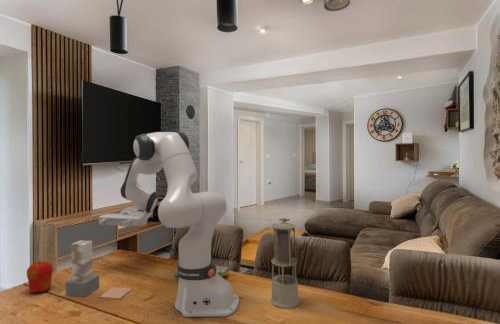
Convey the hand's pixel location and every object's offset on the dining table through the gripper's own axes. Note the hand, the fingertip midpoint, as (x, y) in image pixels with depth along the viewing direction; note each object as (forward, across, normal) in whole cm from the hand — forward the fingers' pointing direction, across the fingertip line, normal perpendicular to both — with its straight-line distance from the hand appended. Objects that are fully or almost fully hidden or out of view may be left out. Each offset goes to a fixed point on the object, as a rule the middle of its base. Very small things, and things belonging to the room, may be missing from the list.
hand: (111, 224), depth 134 cm
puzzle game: (-6, +38, +23) cm, 45 cm away
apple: (+16, -20, +23) cm, 35 cm away
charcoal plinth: (+14, -3, +23) cm, 27 cm away
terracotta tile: (+14, +11, +23) cm, 29 cm away
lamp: (+8, +74, +22) cm, 78 cm away
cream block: (+14, -3, +18) cm, 23 cm away
